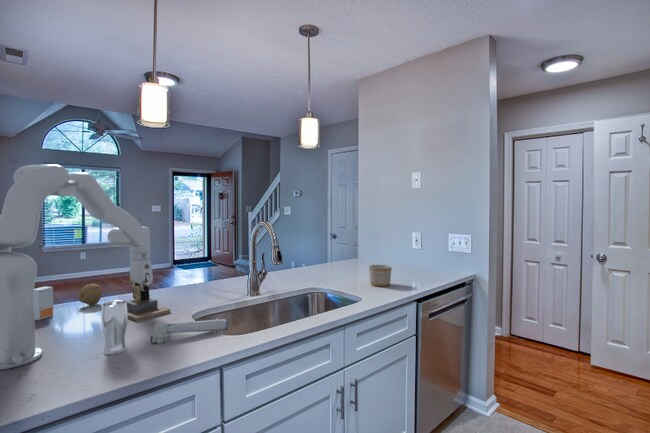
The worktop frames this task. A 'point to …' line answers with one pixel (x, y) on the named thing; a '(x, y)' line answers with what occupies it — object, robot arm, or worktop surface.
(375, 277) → the planter
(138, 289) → the oak peg
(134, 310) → the peg caddy
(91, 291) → the natural sponge
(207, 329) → the white handle
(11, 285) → the robot arm
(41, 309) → the skincare box
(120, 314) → the beer glass
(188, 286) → the worktop surface
